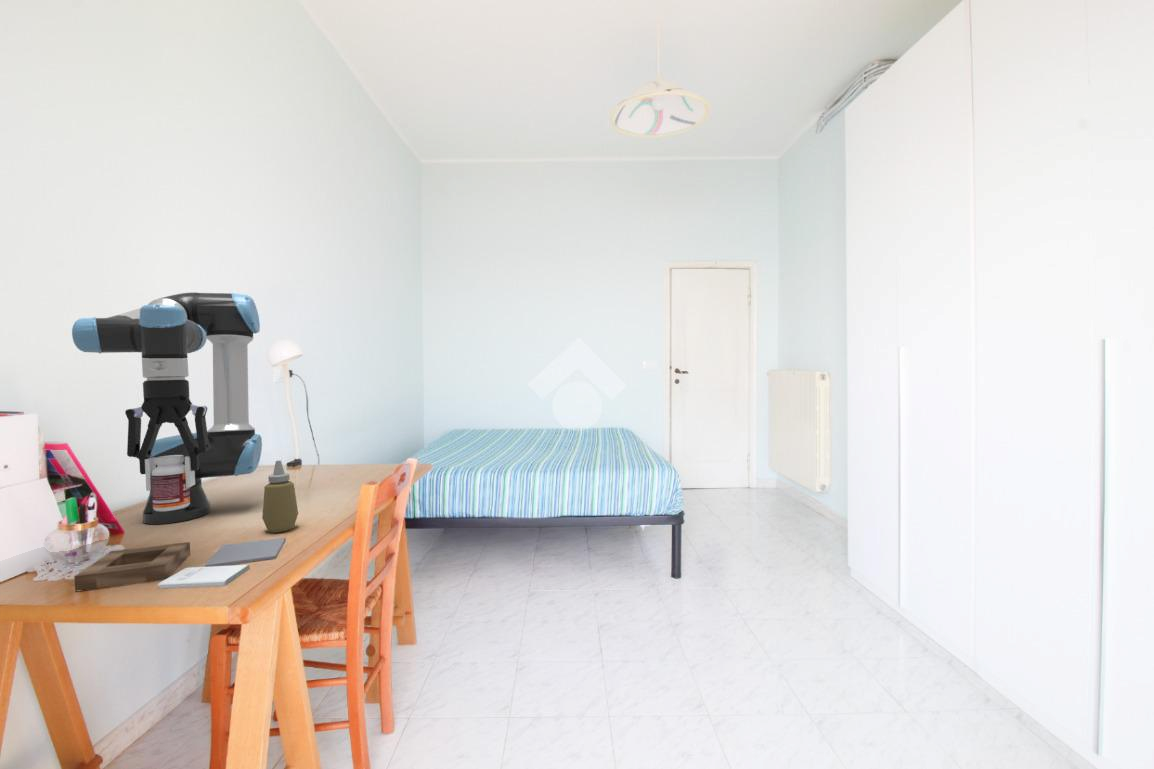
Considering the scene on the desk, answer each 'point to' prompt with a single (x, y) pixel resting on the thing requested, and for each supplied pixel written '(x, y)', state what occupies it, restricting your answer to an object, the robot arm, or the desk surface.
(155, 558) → the walnut frame
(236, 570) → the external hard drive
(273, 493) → the squeeze bottle
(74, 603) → the desk surface
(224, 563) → the grey mat
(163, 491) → the pill bottle
